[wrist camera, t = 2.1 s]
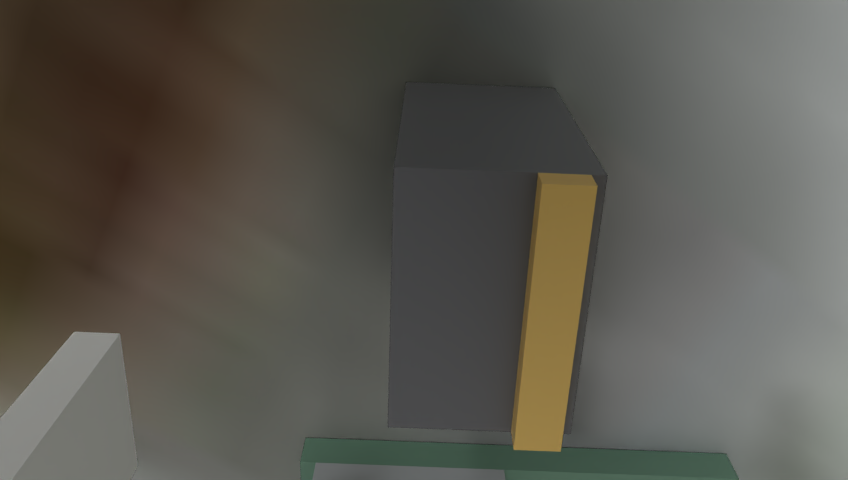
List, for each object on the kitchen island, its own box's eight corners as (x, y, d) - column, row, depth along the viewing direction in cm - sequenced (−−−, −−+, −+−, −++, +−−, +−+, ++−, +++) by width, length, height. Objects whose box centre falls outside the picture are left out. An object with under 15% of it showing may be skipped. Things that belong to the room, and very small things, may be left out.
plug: (406, 82, 21) (391, 177, 14) (554, 87, 21) (613, 187, 14) (400, 279, 23) (386, 444, 16) (533, 285, 23) (574, 452, 16)
